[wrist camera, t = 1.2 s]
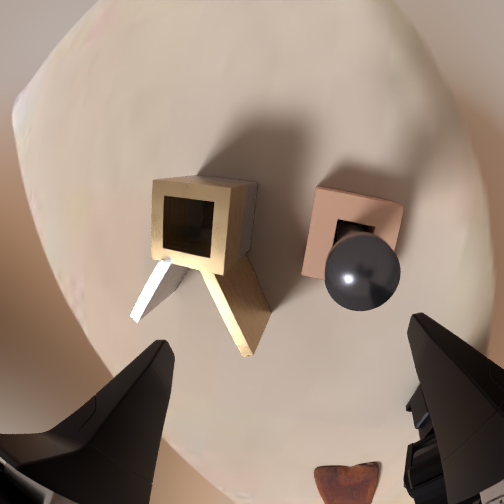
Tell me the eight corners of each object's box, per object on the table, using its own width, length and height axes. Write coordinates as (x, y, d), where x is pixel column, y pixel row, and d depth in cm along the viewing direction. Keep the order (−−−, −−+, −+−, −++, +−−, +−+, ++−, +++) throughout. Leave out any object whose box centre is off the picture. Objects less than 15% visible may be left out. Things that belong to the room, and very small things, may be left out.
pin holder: (395, 202, 18) (404, 206, 15) (377, 277, 20) (382, 290, 17) (317, 186, 19) (315, 188, 17) (304, 263, 21) (301, 274, 19)
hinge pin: (377, 214, 18) (409, 245, 11) (367, 260, 20) (387, 316, 12) (330, 205, 19) (333, 230, 11) (322, 251, 20) (317, 303, 13)
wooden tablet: (311, 463, 30) (310, 472, 28) (379, 457, 27) (379, 466, 25) (325, 510, 36) (324, 516, 34) (370, 506, 32) (370, 512, 31)
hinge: (290, 187, 20) (276, 194, 14) (270, 316, 23) (252, 359, 18) (170, 173, 22) (124, 177, 16) (167, 290, 25) (130, 319, 20)
